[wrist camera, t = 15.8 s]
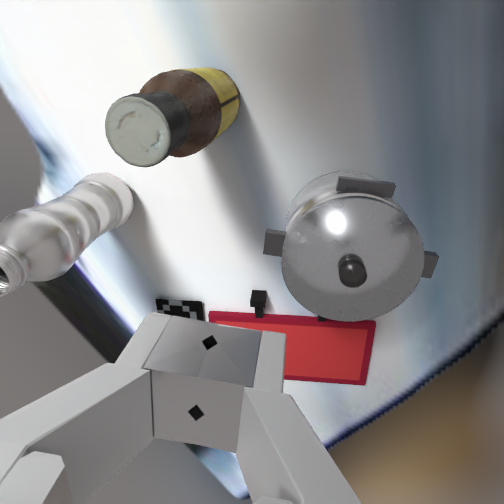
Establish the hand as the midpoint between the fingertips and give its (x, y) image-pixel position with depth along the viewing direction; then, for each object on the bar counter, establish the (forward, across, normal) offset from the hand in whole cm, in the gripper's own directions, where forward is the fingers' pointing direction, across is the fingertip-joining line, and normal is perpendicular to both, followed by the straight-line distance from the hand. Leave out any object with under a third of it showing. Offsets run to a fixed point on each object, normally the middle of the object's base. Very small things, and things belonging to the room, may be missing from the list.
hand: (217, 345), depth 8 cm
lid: (+25, -8, +10) cm, 28 cm away
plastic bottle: (+34, +20, +10) cm, 41 cm away
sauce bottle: (+34, +8, -2) cm, 35 cm away
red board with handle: (+35, -1, +28) cm, 45 cm away
